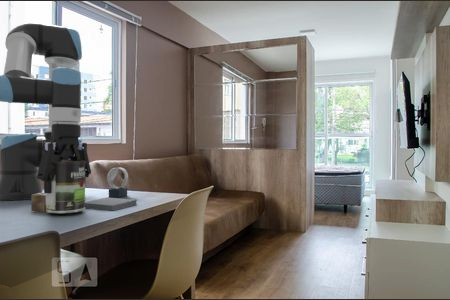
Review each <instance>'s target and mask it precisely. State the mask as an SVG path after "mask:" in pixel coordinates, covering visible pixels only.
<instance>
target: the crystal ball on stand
mask: <svg viewBox="0 0 450 300" xmlns="http://www.w3.org/2000/svg"><path fill="white" fill-rule="evenodd" d="M119 170H120V171H122V173H123V174H124V177H123V180H122V183H121V184H120V187H118V186H117V185H115V184H114V181H115V179H116V177H117V176H118V174H119ZM106 178H107V183H108V185H109V187H110V188H108V198H120V199H122V198H126V197H128V188H127V187H126V186H127V184H128V183H129V182H128V181H129V178H130V177H129V173H128V170H127V169H125V168H124V167H113V168H111V169H110V170H109V171H108V172H107V174H106ZM125 196H126V197H125ZM121 197H122V198H121Z"/></svg>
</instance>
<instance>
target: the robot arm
mask: <svg viewBox="0 0 450 300" xmlns="http://www.w3.org/2000/svg"><path fill="white" fill-rule="evenodd" d="M4 43H5V48H6V49H7V52H6V58H5V65H4V69H3V70H4V71H3V74H1V75H0V102H1V103H2V102H3V103H9V104H12V103H15V104H33V105H34V104H37V105H48V128H47V129H46V130H45V131H44V133H43V134H44V136H39V134H38V132H31V133H30V132H28V133H18V134H10V135H7V134H6V135H4V136H3V137H2V138H1V140H0V201H19V200H31V197H32V195H33V194H37V193H46V205H52V206H54V205H55V201H56V181H53V179H54V176H55V174H56V165H54V166H51V161H53V162H61V161H62V160H71V161H80V160H85V161H86V163H85V187H86V183H87V182H86V181H87V179H86V178H88V177H90V175H92V170H91V165H90V161H89V156H88V150H87V149H88V144H87V142H83V139H82V136H81V133H82V131H81V127H82V125H80V123H81V120H82V119H81V115H82V114H81V111H82V110H81V107H82V106H81V101H82V100H81V97H82V96H81V95H82V91H81V90H82V77H81V76H82V75H81V72H80V70H78V69H76V68H75V67H76V66H77V65H78V64H79V63H78V61H80V60H82V57H83V54H82V53H83V52H82V51H83V50H82V42H81V37H80V33H79V30H77V29H75V28H72V27H68V26H61V25H53V24H47V23H40V22H35V21H33V22H32V21H31V22H24V23H22V24H19V25H17V26H15V27H13V28H12V29H11V30H10V31H9V32H8V34H7V36H6V37H5V42H4ZM34 55H35V56H36V55H38V56H43V57H44V62H45V63H46V64H47V65H48V79H47V78H46V79H45V78H37V77H33V68H34V67H33V65H34ZM41 181H43V188H42V185H41Z"/></svg>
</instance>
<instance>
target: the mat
mask: <svg viewBox="0 0 450 300" xmlns="http://www.w3.org/2000/svg"><path fill="white" fill-rule="evenodd" d="M135 205H137V199H132V198H131V199H130V198H109V197H103V198H102V197H101V198H97V199H93V200H89V201H85V209H94V210H103V211H104V210H105V211H117V210H121V209H124V208H127V207H128V208H129V207H131V206H135Z"/></svg>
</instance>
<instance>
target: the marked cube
mask: <svg viewBox="0 0 450 300" xmlns="http://www.w3.org/2000/svg"><path fill="white" fill-rule="evenodd" d="M30 200H31V211H34V213H41V212H42V214H43V213H44V214H45V213H47V212H46V193H44V192H43V193H37V194H33V195H32V197H31V199H30Z"/></svg>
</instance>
